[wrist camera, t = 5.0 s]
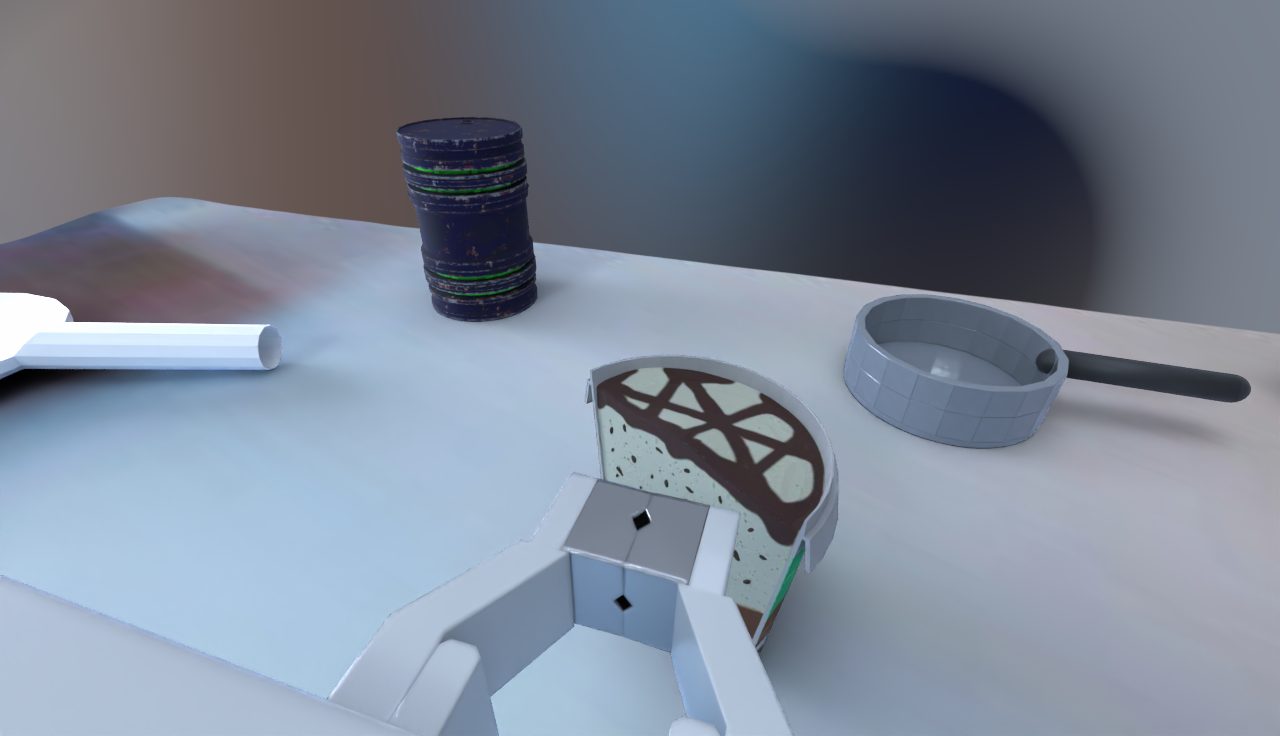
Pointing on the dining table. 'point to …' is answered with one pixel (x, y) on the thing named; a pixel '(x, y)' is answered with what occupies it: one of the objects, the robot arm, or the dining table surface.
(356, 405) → the dining table surface
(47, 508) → the dining table surface
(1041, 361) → the saucepan handle
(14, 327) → the frying pan
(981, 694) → the dining table surface
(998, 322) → the saucepan
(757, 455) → the food container
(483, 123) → the storage jar
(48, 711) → the robot arm
